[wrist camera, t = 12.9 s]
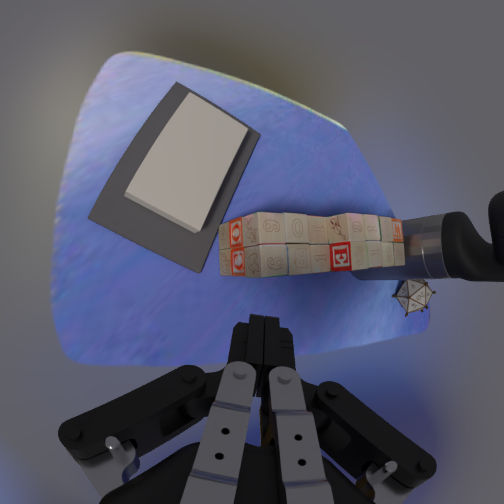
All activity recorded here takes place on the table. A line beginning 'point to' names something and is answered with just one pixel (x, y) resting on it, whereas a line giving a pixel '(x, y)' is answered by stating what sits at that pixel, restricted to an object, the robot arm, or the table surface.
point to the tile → (187, 163)
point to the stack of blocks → (308, 244)
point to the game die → (414, 295)
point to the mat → (150, 223)
